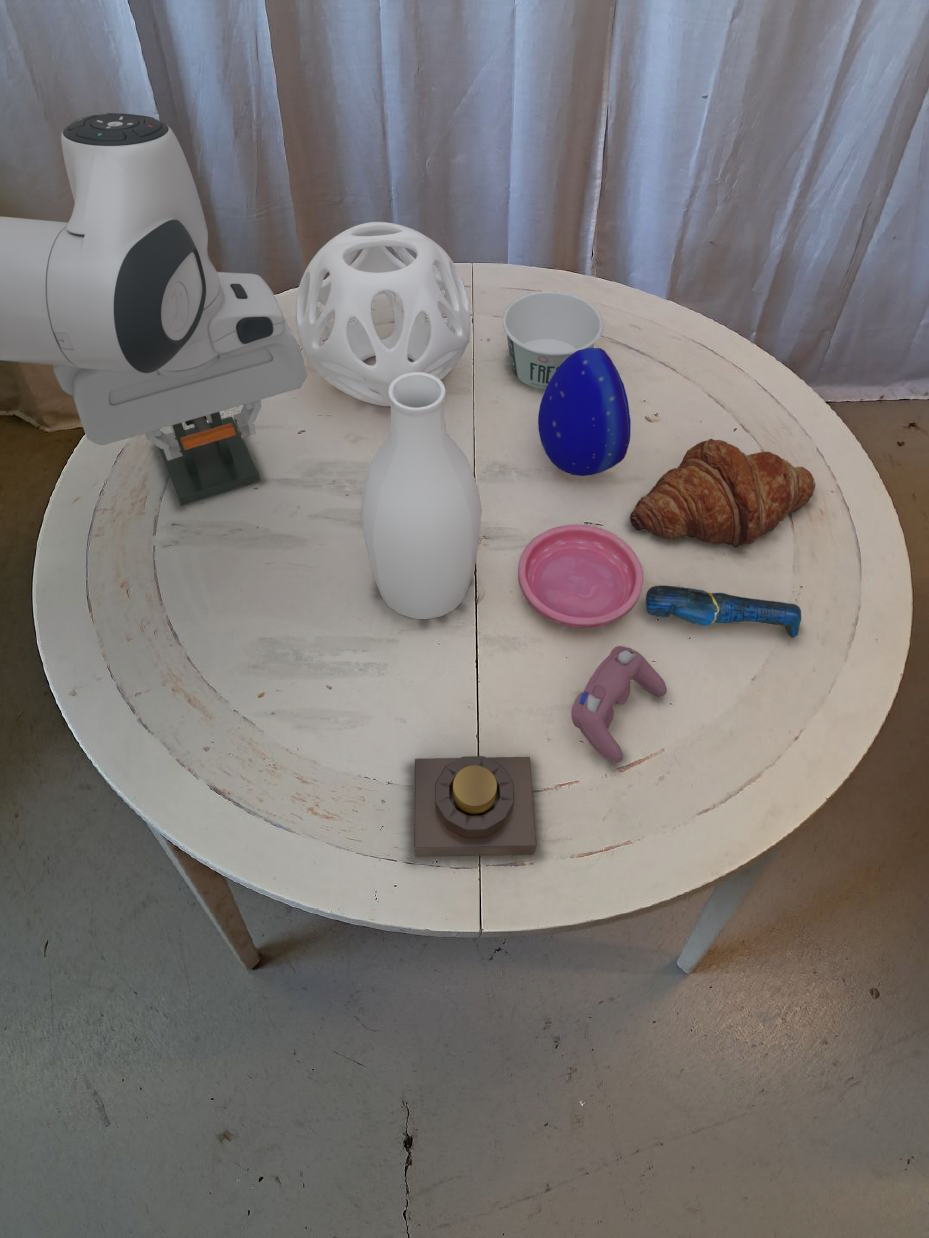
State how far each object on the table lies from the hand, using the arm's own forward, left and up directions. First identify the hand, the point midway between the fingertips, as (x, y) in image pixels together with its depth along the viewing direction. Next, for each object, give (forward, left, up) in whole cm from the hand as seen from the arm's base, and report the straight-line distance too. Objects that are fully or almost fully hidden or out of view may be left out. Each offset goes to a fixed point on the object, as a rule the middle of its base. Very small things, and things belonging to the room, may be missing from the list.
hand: (210, 443), depth 84 cm
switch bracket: (0, +10, -12) cm, 15 cm away
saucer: (+29, -23, -12) cm, 39 cm away
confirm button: (+9, -40, -8) cm, 42 cm away
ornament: (+38, -7, -12) cm, 40 cm away
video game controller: (+25, -37, -12) cm, 46 cm away
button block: (+9, -40, -12) cm, 43 cm away
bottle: (+15, -16, -12) cm, 25 cm away
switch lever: (0, +5, -3) cm, 6 cm away
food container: (+43, +9, -12) cm, 46 cm away
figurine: (+40, -32, -12) cm, 53 cm away
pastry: (+49, -20, -12) cm, 54 cm away
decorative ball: (+24, +15, -12) cm, 31 cm away
